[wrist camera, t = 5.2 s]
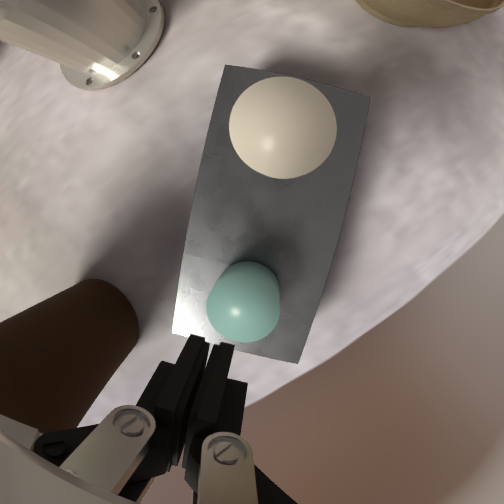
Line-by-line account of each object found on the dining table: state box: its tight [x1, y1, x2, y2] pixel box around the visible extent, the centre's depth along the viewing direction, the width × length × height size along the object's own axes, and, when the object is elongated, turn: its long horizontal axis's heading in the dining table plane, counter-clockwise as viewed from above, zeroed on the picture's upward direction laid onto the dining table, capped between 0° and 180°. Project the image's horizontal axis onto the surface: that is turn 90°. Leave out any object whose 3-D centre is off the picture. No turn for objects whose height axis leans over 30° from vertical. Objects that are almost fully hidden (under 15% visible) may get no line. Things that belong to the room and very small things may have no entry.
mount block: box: [172, 65, 370, 364], centre depth 23 cm, size 20×10×6 cm, turn 167°
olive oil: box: [0, 279, 139, 434], centre depth 18 cm, size 11×11×25 cm
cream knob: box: [229, 77, 337, 179], centre depth 16 cm, size 4×4×9 cm
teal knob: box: [206, 261, 280, 343], centre depth 22 cm, size 4×4×9 cm
